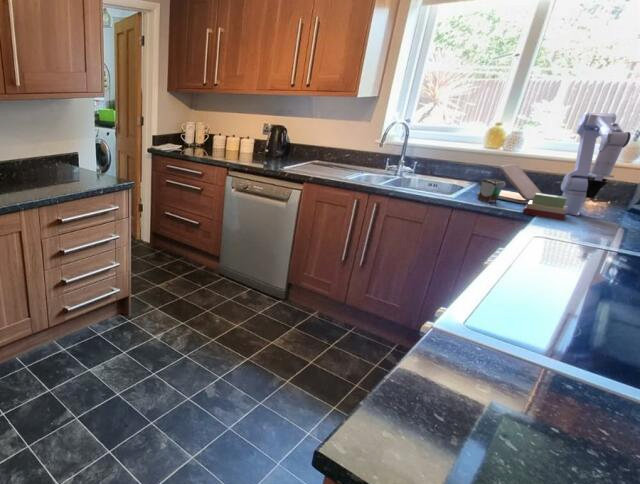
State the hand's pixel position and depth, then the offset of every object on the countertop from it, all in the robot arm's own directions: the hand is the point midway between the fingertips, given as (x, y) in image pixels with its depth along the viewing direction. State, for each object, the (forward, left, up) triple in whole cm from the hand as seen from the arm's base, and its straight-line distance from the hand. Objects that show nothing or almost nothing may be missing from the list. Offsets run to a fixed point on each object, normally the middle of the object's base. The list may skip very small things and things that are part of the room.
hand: (589, 196), depth 174 cm
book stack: (0, -11, -10) cm, 15 cm away
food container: (-11, -31, -11) cm, 35 cm away
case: (-29, -26, -11) cm, 41 cm away
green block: (0, -11, -6) cm, 13 cm away
